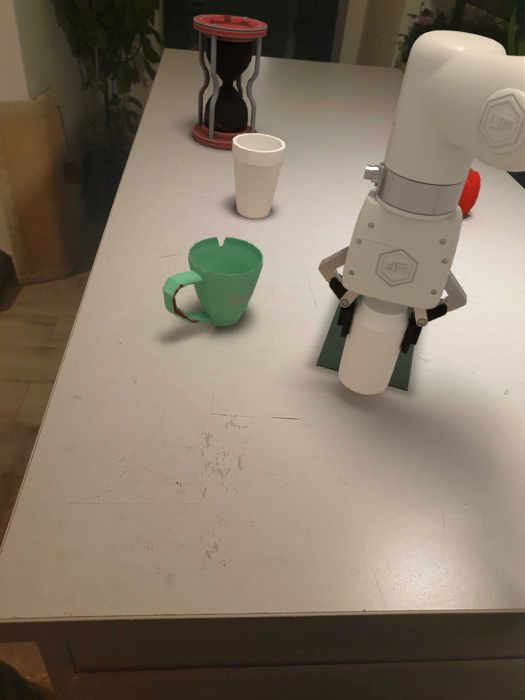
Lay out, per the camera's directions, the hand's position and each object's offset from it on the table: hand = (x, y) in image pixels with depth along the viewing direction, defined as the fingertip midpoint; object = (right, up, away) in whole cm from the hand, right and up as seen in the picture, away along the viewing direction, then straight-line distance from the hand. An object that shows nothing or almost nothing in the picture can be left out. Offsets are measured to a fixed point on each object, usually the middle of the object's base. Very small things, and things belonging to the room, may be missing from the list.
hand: (375, 337), depth 60 cm
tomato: (+25, +28, +50) cm, 62 cm away
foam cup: (-15, +25, +41) cm, 51 cm away
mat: (+3, +1, +15) cm, 15 cm away
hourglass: (-22, +51, +70) cm, 90 cm away
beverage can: (-1, -5, +5) cm, 7 cm away
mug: (-20, +2, +14) cm, 25 cm away
